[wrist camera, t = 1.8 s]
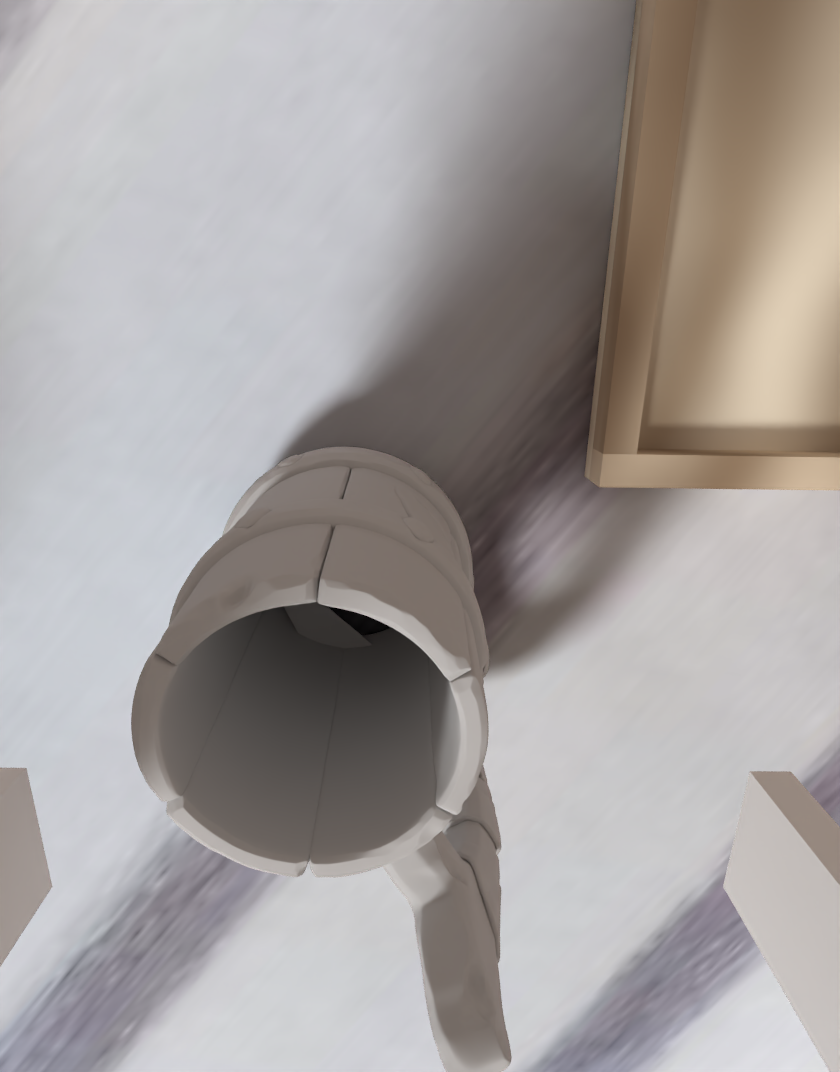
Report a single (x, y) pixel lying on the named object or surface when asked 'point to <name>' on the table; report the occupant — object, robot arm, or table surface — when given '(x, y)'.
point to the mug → (342, 713)
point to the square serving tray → (724, 253)
